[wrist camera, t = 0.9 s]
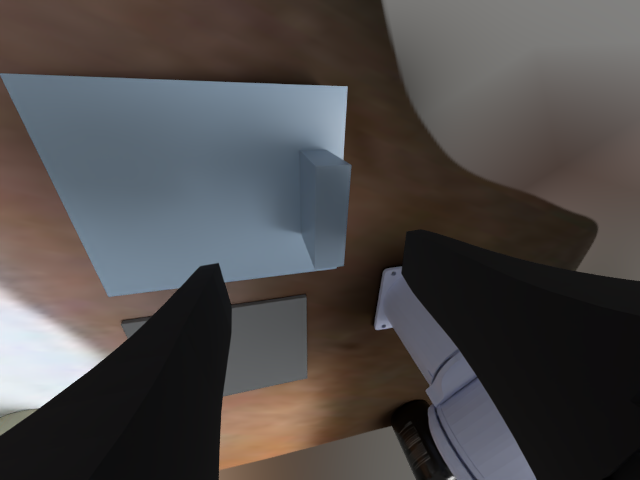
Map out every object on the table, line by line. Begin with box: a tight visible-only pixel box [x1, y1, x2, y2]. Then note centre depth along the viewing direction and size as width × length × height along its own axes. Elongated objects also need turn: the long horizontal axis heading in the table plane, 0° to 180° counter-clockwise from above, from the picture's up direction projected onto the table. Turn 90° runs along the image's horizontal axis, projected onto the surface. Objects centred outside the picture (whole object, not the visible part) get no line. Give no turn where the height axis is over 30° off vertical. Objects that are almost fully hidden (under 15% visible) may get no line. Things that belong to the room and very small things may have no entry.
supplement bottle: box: [391, 401, 457, 480], centre depth 35 cm, size 7×7×12 cm
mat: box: [121, 295, 307, 396], centre depth 25 cm, size 15×12×1 cm
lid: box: [0, 73, 351, 297], centre depth 13 cm, size 14×11×6 cm
